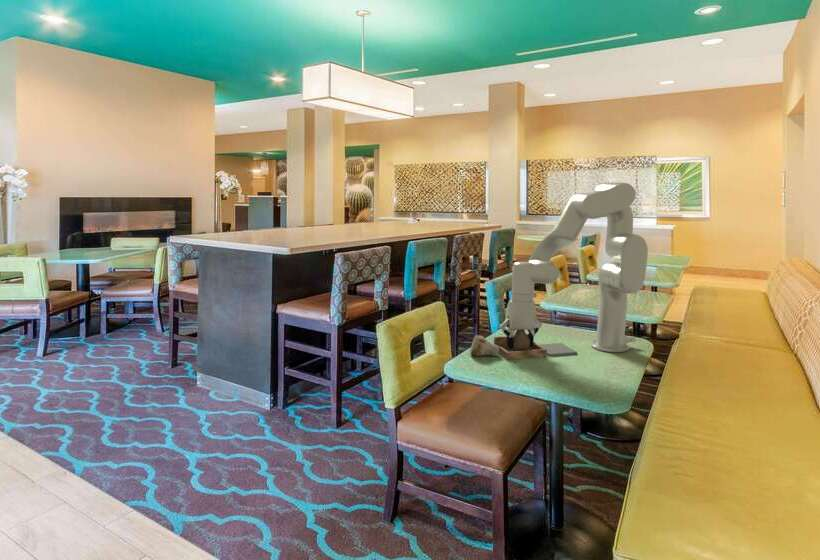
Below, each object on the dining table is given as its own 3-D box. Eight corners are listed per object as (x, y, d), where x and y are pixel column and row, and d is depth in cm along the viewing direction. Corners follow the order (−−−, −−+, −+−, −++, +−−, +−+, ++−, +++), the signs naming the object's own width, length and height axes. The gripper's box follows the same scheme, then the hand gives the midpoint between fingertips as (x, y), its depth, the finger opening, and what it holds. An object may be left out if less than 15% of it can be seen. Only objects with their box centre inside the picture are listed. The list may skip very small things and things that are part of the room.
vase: (516, 357, 182) (517, 332, 180) (505, 351, 188) (506, 327, 187) (533, 355, 184) (534, 331, 183) (522, 349, 191) (523, 326, 189)
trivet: (560, 345, 196) (560, 342, 196) (577, 354, 186) (577, 351, 186) (533, 347, 194) (534, 344, 194) (549, 356, 183) (549, 354, 183)
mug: (502, 359, 180) (489, 336, 177) (476, 369, 183) (463, 346, 180) (501, 348, 187) (489, 325, 184) (477, 357, 190) (464, 335, 187)
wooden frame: (531, 347, 193) (532, 334, 193) (546, 356, 183) (547, 342, 182) (493, 350, 190) (494, 336, 189) (506, 359, 179) (507, 345, 178)
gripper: (539, 294, 188) (537, 342, 192) (494, 296, 184) (492, 345, 187) (550, 298, 181) (547, 348, 185) (503, 300, 177) (501, 351, 180)
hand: (519, 346), depth 186 cm, fingers closed on vase, 6 cm apart
